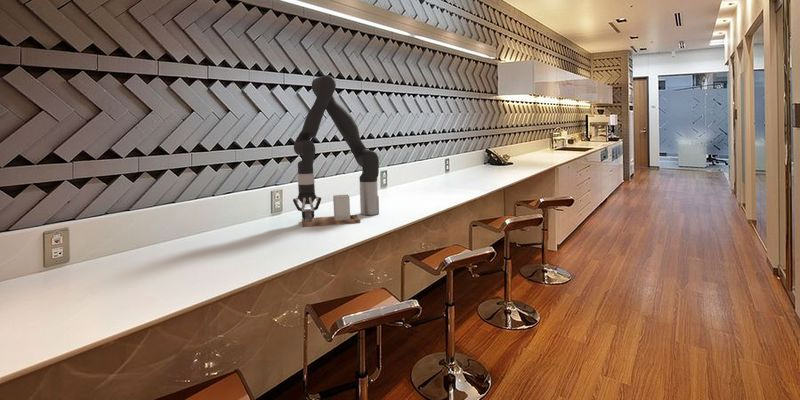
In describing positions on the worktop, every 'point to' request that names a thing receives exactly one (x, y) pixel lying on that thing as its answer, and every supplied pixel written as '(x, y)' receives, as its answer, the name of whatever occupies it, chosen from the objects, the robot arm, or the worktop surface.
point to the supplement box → (341, 207)
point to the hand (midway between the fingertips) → (308, 218)
